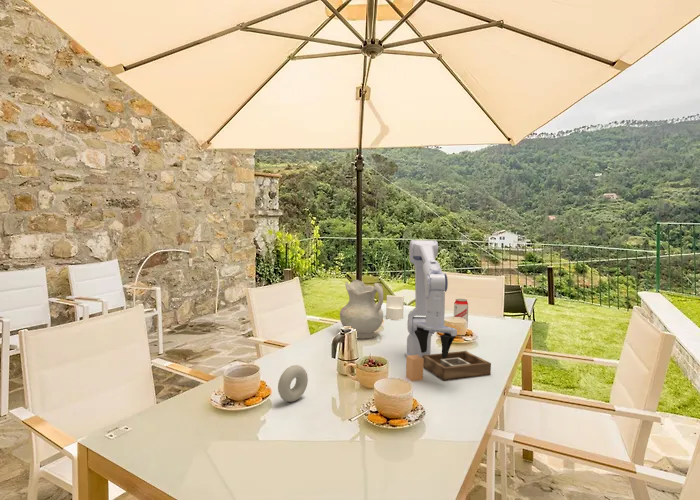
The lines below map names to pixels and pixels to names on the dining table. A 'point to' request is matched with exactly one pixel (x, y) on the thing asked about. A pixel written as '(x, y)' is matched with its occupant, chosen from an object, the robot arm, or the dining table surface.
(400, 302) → the base with upright slab
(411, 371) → the plug
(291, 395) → the donut
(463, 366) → the box
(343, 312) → the ceramic pitcher
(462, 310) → the beer can
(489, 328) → the dining table surface
